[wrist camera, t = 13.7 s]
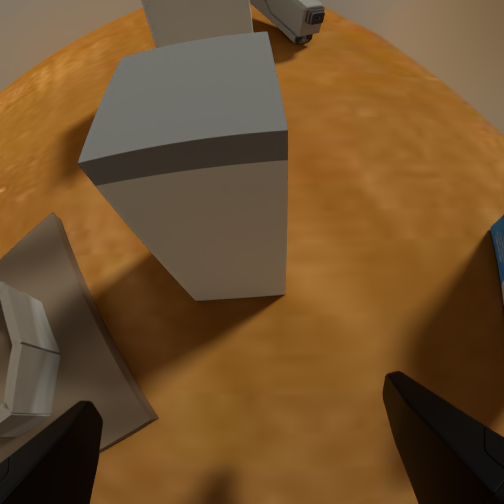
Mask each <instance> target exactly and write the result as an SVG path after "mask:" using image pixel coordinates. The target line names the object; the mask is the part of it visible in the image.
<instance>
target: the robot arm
mask: <svg viewBox="0 0 504 504" xmlns="http://www.w3.org/2000/svg"><path fill="white" fill-rule="evenodd" d="M383 401H384V404H385V408H386V411H387V415H388V419H389V422H390V426H391V430H392V434H393V437H394V441H395V443H396V446H397V449H398V451H399V454H400V456H401V459H402V461H403V464H404V466H405V469H406V471H407V474H408V477H409V479H410V482H411V485H412V487H413V490H414V493H415V495H416V498H417V501H418V503H419V504H504V437H503V436H501V435H499V434H498V433H496V432H494V431H493V430H491V429H489V428H488V427H486V426H485V427H484V425H483V424H481V423H480V422H478V421H477V420H475V419H473V418H472V417H470V416H469V415H467V414H466V413H464V412H462V411H461V410H459V409H458V408H456V407H455V406H453V405H452V404H450V403H448V402H447V401H445V400H444V399H442V398H441V397H439V396H438V395H436V394H435V393H433V392H431V391H430V390H428V389H427V388H425V387H424V386H422V385H421V384H419V383H418V382H416V381H415V380H413V379H411V378H410V377H408V376H407V375H405V374H404V373H402V372H401V371H395V372H392V373H388V374H387V375H386V376H385V382H384V388H383ZM102 428H103V419H102V417H101V415H100V413H99V412H98V410H97V409H96V407H95V405H94V404H93V403H92V402H91V401H85V400H81V401H79V402H77V403H76V404H75V405H73V406H72V407H71V408H70V409H68V410H67V411H66V412H65V413H63V414H62V415H61V416H60V417H58V418H57V419H56V420H54V421H53V422H52V423H51V424H49V425H48V426H47V427H46V428H44V429H43V430H42V431H41V432H39V433H38V434H37V435H35V436H34V437H33V438H32V439H30V440H29V441H28V442H27V443H25V444H24V445H23V446H21V447H20V448H19V449H18V450H16V451H15V452H14V453H13V454H11V455H10V456H9V457H7V458H6V459H5V460H4V461H2V462H1V463H0V504H90V499H91V494H92V489H93V484H94V479H95V475H96V470H97V465H98V459H99V452H100V444H101V436H102Z"/></svg>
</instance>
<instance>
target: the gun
mask: <svg viewBox="0 0 504 504" xmlns="http://www.w3.org/2000/svg"><path fill="white" fill-rule="evenodd" d="M250 3H251V4H252V5H253V6H254V7H255V8H257V9H258V10H259V11H260V12H261V13H262V14H263V15H265V16H266V17H267V18H268V19H269V20H270V21H271V22H272V23H273V24H275V25H276V26H277V27H278V28H279V29H280V30H281V31H282V32H283V33H284V34H285V35H286V36H287V37H288V38H289V39H290V40H291V41H292V42H293V43H295V44H301V43H305V42H309V41H310V40H311V39H312V35H313V34H315V33H319V30H320V26H321V23H322V22H323V19H324V15H325V13H324V9H325V6H324V5H323V4H321V3H320V2H319V1H318V0H250Z"/></svg>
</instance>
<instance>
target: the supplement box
mask: <svg viewBox="0 0 504 504" xmlns="http://www.w3.org/2000/svg"><path fill="white" fill-rule="evenodd" d="M141 1H142V4H143V8H144V11H145V15H146V18H147V21H148V24H149V27H150V30H151V34H152V37H153V40H154V43H155V46H156V48H160V47H164V46H168V45H173V44H178V43H183V42H188V41H194V40H199V39H206V38H212V37H219V36H226V35H235V34H244V33H253V25H252V17H251V8H250V0H141Z"/></svg>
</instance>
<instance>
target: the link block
mask: <svg viewBox="0 0 504 504" xmlns="http://www.w3.org/2000/svg"><path fill="white" fill-rule="evenodd" d="M78 164H79V166H80V167H81V168H82V170H83V171H84V172H85V173H86V175H87V176H88V177H89V179H90V180H91V181H92V182H93V184H94V185H95V186H96V187H97V189H98V190H99V191H100V192H101V194H102V195H103V196H104V197H105V199H106V200H107V201H108V202H109V203H110V205H111V206H112V207H113V208H114V210H115V211H116V212H117V213H118V214H119V216H120V217H121V218H122V219H123V220H124V221H125V223H126V224H127V225H128V226H129V227H130V229H131V230H132V231H133V232H134V233H135V234H136V236H137V237H138V238H139V239H140V240H141V241H142V243H143V244H144V245H145V246H146V247H147V248H148V249H149V251H150V252H151V253H152V254H153V255H154V256H155V257H156V258H157V260H158V261H159V262H160V263H161V264H162V265H163V266H164V267H165V268H166V270H167V271H168V272H169V273H170V274H171V275H172V276H173V277H174V278H175V279H176V281H177V282H178V283H179V284H180V285H181V286H182V287H183V288H184V289H185V290H186V291H187V292H188V293H189V294H190V296H191V297H192V298H193V299H194V300H195V301H200V300H217V299H233V298H247V297H261V296H274V295H285V289H286V255H287V203H288V129H287V124H286V118H285V113H284V108H283V102H282V97H281V92H280V87H279V82H278V77H277V73H276V68H275V63H274V59H273V54H272V49H271V45H270V40H269V36H268V32H254V33H244V34H235V35H226V36H219V37H212V38H206V39H199V40H194V41H188V42H183V43H178V44H173V45H168V46H164V47H160V48H155V49H151V50H147V51H143V52H139V53H136V54H132V55H128V56H125V57H122V58H121V60H120V62H119V64H118V66H117V68H116V70H115V72H114V74H113V76H112V79H111V81H110V83H109V85H108V87H107V89H106V92H105V94H104V96H103V98H102V101H101V103H100V105H99V108H98V110H97V112H96V115H95V117H94V120H93V122H92V125H91V127H90V130H89V133H88V135H87V138H86V141H85V143H84V146H83V149H82V152H81V155H80V158H79V161H78Z"/></svg>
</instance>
